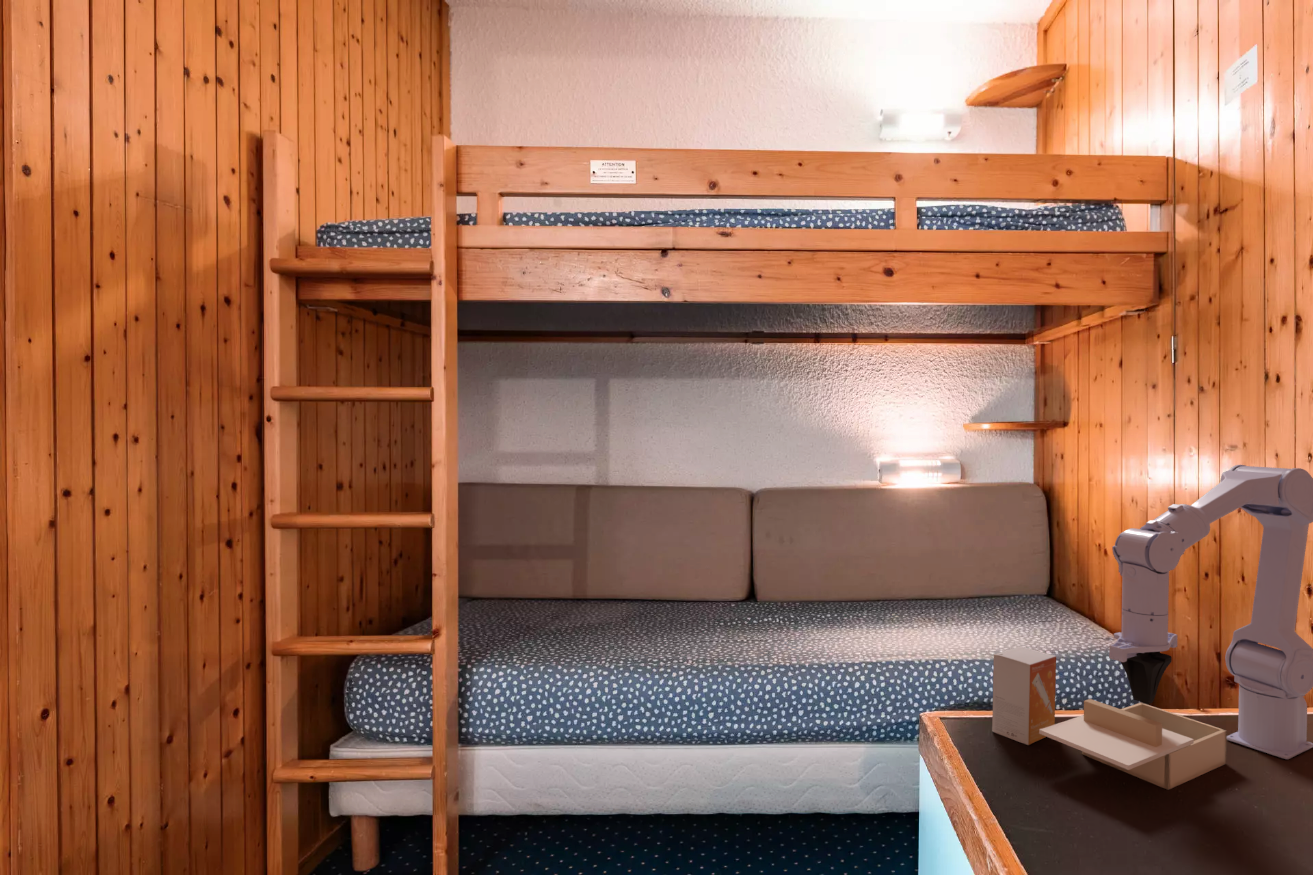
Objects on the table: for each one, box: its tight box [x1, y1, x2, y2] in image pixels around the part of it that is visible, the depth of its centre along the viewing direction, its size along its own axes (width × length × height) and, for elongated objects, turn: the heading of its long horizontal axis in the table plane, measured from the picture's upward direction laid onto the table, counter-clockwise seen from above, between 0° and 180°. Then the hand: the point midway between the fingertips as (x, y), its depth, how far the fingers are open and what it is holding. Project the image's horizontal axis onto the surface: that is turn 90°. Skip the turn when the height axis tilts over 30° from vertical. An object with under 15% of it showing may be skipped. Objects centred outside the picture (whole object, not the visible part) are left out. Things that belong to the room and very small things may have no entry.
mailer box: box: [1081, 702, 1228, 791], centre depth 108 cm, size 16×12×5 cm
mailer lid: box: [1039, 698, 1194, 770], centre depth 103 cm, size 16×12×4 cm
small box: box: [991, 645, 1057, 746], centre depth 117 cm, size 8×6×13 cm
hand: (1143, 700), depth 107 cm, fingers closed
